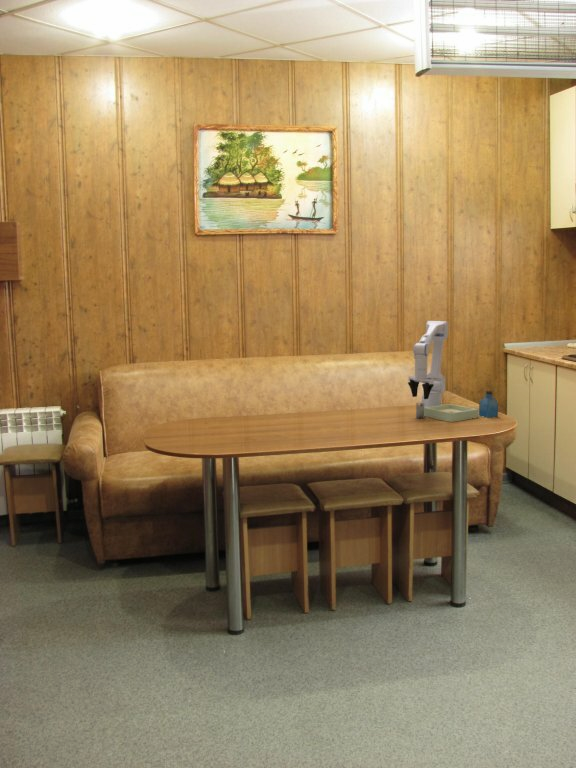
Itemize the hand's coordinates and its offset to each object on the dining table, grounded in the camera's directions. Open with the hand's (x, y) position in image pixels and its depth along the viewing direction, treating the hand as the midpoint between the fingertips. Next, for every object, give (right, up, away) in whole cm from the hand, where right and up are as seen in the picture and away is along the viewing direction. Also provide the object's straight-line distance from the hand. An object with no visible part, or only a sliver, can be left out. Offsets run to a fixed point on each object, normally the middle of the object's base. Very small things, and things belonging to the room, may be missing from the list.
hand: (420, 397), depth 375 cm
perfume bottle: (+33, -9, +6) cm, 35 cm away
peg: (0, -10, +1) cm, 10 cm away
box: (+15, -9, +4) cm, 18 cm away
